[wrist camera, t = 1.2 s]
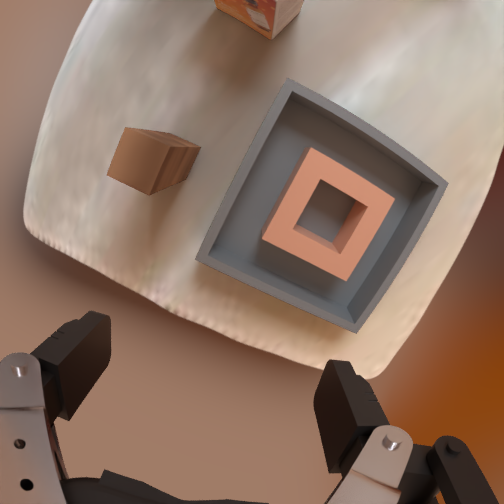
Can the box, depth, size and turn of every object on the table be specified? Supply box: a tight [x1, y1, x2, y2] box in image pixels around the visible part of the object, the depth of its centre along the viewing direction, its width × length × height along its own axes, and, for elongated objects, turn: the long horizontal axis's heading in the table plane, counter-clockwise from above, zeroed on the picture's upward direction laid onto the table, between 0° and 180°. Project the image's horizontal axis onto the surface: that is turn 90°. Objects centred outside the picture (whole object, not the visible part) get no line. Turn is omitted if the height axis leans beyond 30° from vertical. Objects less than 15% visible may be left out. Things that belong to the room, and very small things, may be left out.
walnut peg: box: [107, 127, 201, 195], centre depth 27 cm, size 4×4×12 cm
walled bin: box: [195, 78, 449, 334], centre depth 32 cm, size 20×20×5 cm
